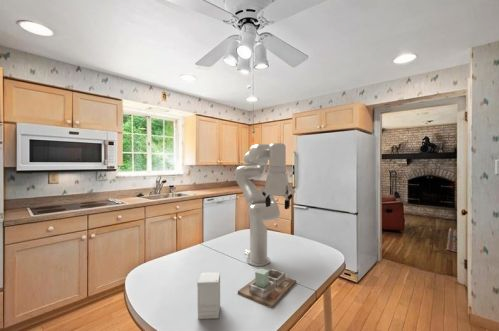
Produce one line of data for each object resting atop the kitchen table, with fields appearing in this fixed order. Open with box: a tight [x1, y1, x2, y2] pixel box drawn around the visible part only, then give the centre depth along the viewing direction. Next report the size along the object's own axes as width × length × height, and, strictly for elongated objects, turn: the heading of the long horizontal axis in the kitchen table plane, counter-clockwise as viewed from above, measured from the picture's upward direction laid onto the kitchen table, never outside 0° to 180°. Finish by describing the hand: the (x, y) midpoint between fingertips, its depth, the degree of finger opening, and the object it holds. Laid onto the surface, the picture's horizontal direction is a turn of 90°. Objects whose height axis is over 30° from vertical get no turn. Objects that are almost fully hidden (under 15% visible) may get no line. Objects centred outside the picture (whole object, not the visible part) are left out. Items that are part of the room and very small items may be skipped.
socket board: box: [237, 268, 297, 309], centre depth 96 cm, size 16×22×4 cm
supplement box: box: [196, 271, 221, 320], centre depth 80 cm, size 7×7×13 cm
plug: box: [254, 268, 269, 289], centre depth 92 cm, size 4×4×8 cm
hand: (277, 207), depth 103 cm, fingers open, 9 cm apart
